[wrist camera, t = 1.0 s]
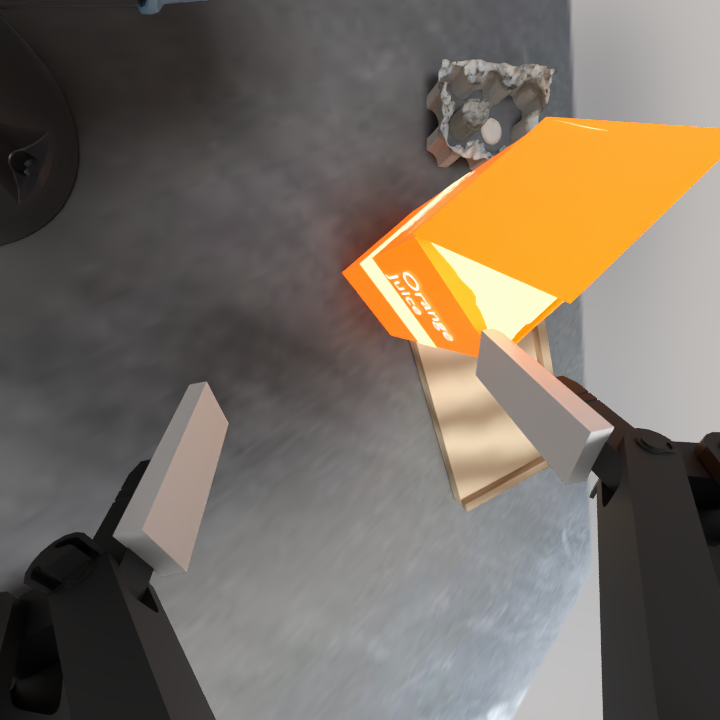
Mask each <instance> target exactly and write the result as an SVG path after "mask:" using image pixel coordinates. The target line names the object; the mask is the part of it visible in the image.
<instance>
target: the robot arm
mask: <svg viewBox="0 0 720 720" xmlns="http://www.w3.org/2000/svg"><path fill="white" fill-rule="evenodd" d="M195 1H207V0H0V9H11V8H74V7H137V9H138V11H139V12H140V13H141V14H155V13H157V12H159V11H160V10H161V8H162V6H163V5H164V4H171V3H182V2H195ZM77 167H78V140H77V133H76V128H75V124H74V121H73V117H72V114H71V111H70V109H69V106H68V103H67V101H66V99H65V97H64V95H63V93H62V91H61V89H60V87H59V85H58V83H57V82H56V80H55V78H54V77H53V75H52V74H51V72H50V71H49V69H48V68H47V66H46V65H45V64H44V62H43V61H42V60H41V59H40V57H39V56H38V55H37V54H36V52H35V51H34V50H33V49H32V48H31V47H30V46H29V44H28V43H27V42H26V41H25V40H24V39H23V38H22V37H21V36H20V35H19V34H18V33H17V32H16V31H15V30H14V29H13V28H12V26H11V25H10V24H9V23H8V22H7V21H6V20H5V19H4V18H3V17H2V16H1V15H0V245H3V244H6V243H9V242H13V241H15V240H18V239H21V238H23V237H25V236H27V235H29V234H31V233H33V232H34V231H36V230H38V229H39V228H41V227H42V226H43V225H45V224H46V223H47V222H48V221H49V220H51V219H52V218H53V217H54V216H55V215H56V213H57V212H58V211H59V210H60V209H61V207H62V206H63V204H64V203H65V201H66V200H67V198H68V196H69V194H70V192H71V189H72V187H73V184H74V181H75V178H76V173H77ZM476 376H477V377H478V379H479V380H480V381H481V382H482V384H483V385H484V386H485V387H486V388H487V390H488V391H489V392H490V393H491V395H492V396H493V397H494V398H495V399H496V401H497V402H498V403H499V404H500V406H501V407H502V408H503V409H504V411H505V412H506V413H507V414H508V415H509V417H510V418H511V419H512V420H513V422H514V423H515V424H516V425H517V426H518V428H519V429H520V430H521V431H522V433H523V434H524V435H525V436H526V437H527V439H528V440H529V441H530V442H531V444H532V445H533V446H534V447H535V448H536V450H537V451H538V452H539V453H540V455H541V456H542V457H543V458H544V459H545V461H546V462H547V463H548V464H549V466H550V467H551V468H552V469H553V470H554V472H555V473H556V474H557V475H558V477H559V478H560V479H561V480H562V482H563V483H564V484H565V485H569V484H574V483H578V482H582V481H586V479H587V477H588V476H589V474H590V472H591V470H592V471H593V472H594V473H595V474H596V475H597V476H598V477H599V479H598V481H597V483H596V484H595V486H594V488H593V490H592V491H591V494H590V498H594V496H595V495H596V493H597V518H598V550H599V551H598V552H599V587H600V622H601V656H602V693H603V720H720V432H712V433H710V434H707V435H706V436H705V437H704V438H703V439H702V440H701V442H700V443H690V442H673V441H671V440H670V439H668V438H667V437H665V436H663V435H661V434H659V433H657V432H654V431H651V430H647V429H640V428H636V429H635V428H633V427H632V426H631V425H630V424H628V423H627V422H626V421H625V420H623V419H622V418H621V417H620V416H618V415H617V414H616V413H614V412H613V411H612V410H611V409H610V408H608V407H607V406H606V405H605V404H603V403H602V402H601V401H600V400H597V398H596V397H595V396H593V395H592V394H591V393H588V391H587V390H586V389H585V388H583V387H582V386H581V385H580V384H578V383H577V382H575V381H573V380H571V379H569V378H566V377H564V376H559V377H554V376H553V375H552V374H551V373H550V372H549V371H547V370H546V369H545V368H544V367H543V366H541V365H540V364H539V363H538V362H537V361H536V360H534V359H533V358H532V357H531V356H530V355H529V354H527V353H526V352H525V351H524V350H523V349H521V348H520V347H519V346H518V345H517V344H515V343H514V342H513V341H512V340H511V339H510V338H508V337H507V336H506V335H505V334H504V333H503V332H501V331H499V330H496V329H494V328H491V329H485V330H482V331H481V338H480V346H479V353H478V360H477V368H476ZM228 424H229V423H228V421H227V420H226V418H225V416H224V414H223V412H222V410H221V408H220V406H219V404H218V402H217V400H216V398H215V397H214V395H213V393H212V391H211V389H210V387H209V385H208V383H207V381H206V382H201V383H195V384H190V385H189V386H188V388H187V390H186V392H185V394H184V396H183V398H182V400H181V402H180V404H179V406H178V408H177V410H176V412H175V414H174V416H173V418H172V420H171V422H170V424H169V426H168V428H167V430H166V432H165V434H164V436H163V438H162V440H161V441H160V443H159V445H158V447H157V449H156V451H155V453H154V455H153V457H152V459H151V460H146V461H141V462H140V463H139V464H138V465H137V466H136V468H135V469H134V470H133V471H132V472H131V473H130V474H129V475H128V477H127V479H126V481H125V482H124V484H123V486H122V488H121V489H122V490H121V491H119V493H118V495H117V497H116V499H115V502H114V503H113V504H112V506H111V508H110V509H109V511H108V513H107V515H106V517H105V518H104V520H103V522H102V524H101V526H100V527H99V529H98V531H97V533H96V535H95V536H94V538H93V540H92V539H91V538H90V537H88V536H87V535H86V534H85V533H80V532H75V533H71V534H68V535H65V536H63V537H61V538H60V539H58V540H56V541H54V542H53V543H52V544H50V545H49V546H48V547H47V548H45V549H44V550H43V551H42V552H41V553H40V554H39V555H38V556H37V557H36V558H35V560H34V561H33V562H32V563H31V565H30V566H29V568H28V570H27V572H26V573H25V578H24V583H25V584H27V585H28V586H30V587H32V588H34V590H32V591H30V592H28V593H26V594H24V595H22V596H20V597H17V596H15V595H13V594H11V593H8V592H1V593H0V720H216V719H215V717H214V715H213V713H212V711H211V709H210V706H209V704H208V702H207V700H206V698H205V696H204V694H203V692H202V689H201V687H200V685H199V683H198V681H197V679H196V677H195V675H194V672H193V670H192V668H191V666H190V664H189V662H188V660H187V658H186V656H185V653H184V651H183V649H182V647H181V645H180V643H179V641H178V639H177V636H176V634H175V632H174V630H173V628H172V626H171V624H170V622H169V619H168V617H167V615H166V613H165V611H164V609H163V607H162V605H161V602H160V600H159V598H158V596H157V594H156V592H155V590H154V588H153V586H152V585H151V584H150V583H149V581H150V578H151V575H152V572H153V570H154V571H155V572H157V573H158V574H159V575H160V576H161V577H166V576H171V575H175V574H180V573H184V572H187V570H188V566H189V562H190V559H191V555H192V552H193V548H194V545H195V541H196V538H197V534H198V531H199V527H200V523H201V520H202V516H203V513H204V509H205V506H206V502H207V499H208V495H209V492H210V488H211V484H212V481H213V477H214V474H215V470H216V467H217V463H218V460H219V456H220V453H221V449H222V445H223V442H224V438H225V435H226V431H227V428H228Z"/></svg>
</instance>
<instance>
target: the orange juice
mask: <svg viewBox="0 0 720 720" xmlns="http://www.w3.org/2000/svg"><path fill="white" fill-rule="evenodd" d="M719 159H720V128H704V127H690V126H675V125H661V124H646V123H631V122H616V121H601V120H600V121H599V120H586V119H571V118H556V117H546V118H545V119H544V120H542V121H541V122H540V123H539V124H538V125H537V126H536V127H534V128H533V129H532V130H531V131H530V132H529V133H528V134H526V135H525V136H524V137H522V138H521V139H519V140H518V141H516V142H515V143H513V144H512V145H510V146H509V147H507V148H506V149H504V150H503V151H502V152H500V153H499V154H497V155H496V156H494V157H493V158H491V159H490V160H488V161H487V162H485V163H484V164H482V165H481V166H479V167H478V168H476V169H475V170H473V171H472V172H471V173H470V172H469V173H468V174H466V175H465V176H463V177H462V178H461V179H459V180H458V181H456V182H455V183H453V184H452V185H450V186H449V187H448V188H446V189H445V190H444V191H442V192H441V193H439V194H438V195H437V196H435V197H434V198H432V199H431V200H429V201H428V202H426V203H425V204H423V205H422V206H420V207H419V208H417V209H416V210H414V211H413V212H412V213H410V214H409V215H408V216H407V217H406V218H405V219H403V220H402V221H401V222H400V223H399V224H398V225H397V226H395V227H394V228H393V229H392V230H391V231H390V232H388V233H387V234H386V235H385V236H384V237H383V238H381V239H380V240H379V241H378V242H377V243H376V244H374V245H373V246H372V247H371V248H370V249H369V250H368V251H366V252H365V253H364V254H363V255H362V256H361V257H359V258H358V259H357V260H356V261H355V262H354V263H352V264H351V265H350V266H349V267H348V268H347V269H346V270H344V271H343V272H342V273H343V275H344V276H345V277H346V279H347V280H348V281H349V282H350V284H351V285H352V286H353V287H354V289H355V290H356V291H357V293H358V294H359V295H360V296H361V298H362V299H363V300H364V302H365V303H366V304H367V305H368V307H369V308H370V309H371V311H372V312H373V313H374V314H375V316H376V317H377V318H378V320H379V321H380V322H381V323H382V325H383V326H384V327H385V328H386V330H387V331H388V332H389V334H390V335H392V336H396V337H399V338H403V339H407V340H411V341H415V342H419V343H420V344H424V345H428V346H432V347H439V348H443V349H447V350H451V351H455V352H458V353H462V354H466V355H470V356H474V357H478V353H479V346H480V338H481V331H482V330H485V329H491V328H494V329H496V330H499V331H501V332H503V333H504V334H505V335H506V336H507V337H508V338H510V339H511V340H512V341H513V342H514V343H515V344H517V343H518V342H519V341H520V340H521V339H522V338H523V337H524V336H525V335H526V334H527V333H528V332H529V331H531V330H532V329H533V328H534V327H535V326H536V325H537V324H539V323H540V322H541V321H542V320H543V319H544V318H546V317H547V316H548V315H549V314H550V313H551V312H552V311H554V310H555V309H556V308H557V307H558V306H559V305H561V304H562V303H563V302H564V301H566V302H568V303H570V304H571V303H572V302H573V301H574V300H575V299H576V298H577V297H578V296H579V295H580V294H581V293H582V292H583V291H584V290H585V289H586V288H587V287H588V286H589V285H590V284H591V283H592V282H593V281H594V280H595V279H596V278H597V277H598V276H600V274H602V273H603V272H604V271H605V270H606V269H607V268H608V267H609V266H610V265H611V264H612V263H613V262H614V261H615V260H616V259H617V258H618V257H619V256H620V255H621V254H622V253H623V252H624V251H625V250H626V249H627V248H628V247H629V246H630V245H632V244H633V243H634V242H635V241H636V240H637V239H638V238H639V237H640V236H641V235H642V234H643V233H644V232H645V231H646V230H647V229H648V228H649V227H650V226H651V225H652V224H653V223H654V222H655V221H656V220H657V219H658V218H659V217H660V216H662V215H663V214H664V213H665V212H666V211H667V210H668V209H669V208H670V207H671V206H672V205H673V204H674V203H675V202H676V201H677V200H678V199H679V198H680V197H681V196H682V195H683V194H684V193H685V192H686V191H687V190H688V189H689V188H690V187H692V186H693V184H694V183H696V182H697V181H698V180H699V179H700V178H701V177H702V176H703V175H704V174H705V173H706V172H707V171H708V170H709V169H710V168H711V167H712V166H713V165H714V164H715V163H716V162H717V161H718V160H719Z"/></svg>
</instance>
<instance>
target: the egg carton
mask: <svg viewBox="0 0 720 720" xmlns="http://www.w3.org/2000/svg"><path fill="white" fill-rule="evenodd" d="M441 61H442V66H441V69H440V70H439V81H438V82H437V83H436V85H435V86H434V88H433V89H432V90H431V92H430V93H429V94H428V95H427V108H428V109H430V110H431V111H433V112H434V113H435V115H436V116H437V119H438V123H439V125H438V127H437V129H436V130H435V131H434V132H433V133H432V134H431V135H430V136H429V137H428V138H427V147H426V148H427V151H429V152H431V153H432V154H433V155H434V156H435V157H436V159H437V163H438V166H439V167H448V166H449V165H451V164H452V163H453V162H454V161H456V160H457V159H458V158H459V157H460V156H461V155H462V157H464V158H466V159H467V161H468V163H469V168H470V170H475V169H476V168H478V167H479V166H481V165H482V164H484V163H485V162H487V161H488V160H490V159H491V158H493V157H494V156H496V155H497V154H499V153H500V152H502V151H503V150H504V149H506V148H507V147H505V145H503V146H502V147H501V148H500V149H499V150H497V151H496V152H495V153H493V154H492V155H491V152H486V151H485V144H484V143H482V144H479V140H471V141H469V142H468V143H467V144H466V146H465V147H461V145H460V144H457V145H456V146H454V147H451V146H449V144H448V143H447V137H448V129H449V131H450V134H451V136H452V137H453V139H454V140H456V141H458V142H463V141H465V140H466V139H468V138H469V137H470V136H471V135H473V134H474V133H475V132H476V131H477V130H478V129H480V128H481V135H482V138H483V140H484V141H485V142H486V143H487V144H489V145H494V144H496V143H498V141H499V140H500V138H501V130H502V129H501V127H500V124H499V122H498V121H497V120H495V119H493V118H489V119H488V117H489V111H490V108H491V106H492V105H496V104H498V103H499V102H501V101H502V100H503V99H504V98H505V97H506V96H507V95H510V96H512V98H513V102H514V104H515V106H516V107H517V108H518V109H519V110H521V111H522V115H521V121H519V122H518V123H517V124H515V125H514V126H513V128H512V130H511V141H512V144H513V143H515V142H516V141H518V140H519V139H521V138H522V137H524V136H525V135H526V134H528V133H529V132H530V131H531V130H532V129H533V128H534V127H536V126H537V125H538V116H539V114H540V113H541V112H542V111H543V110H544V108H545V107H546V105H547V103H548V99H549V95H550V85H551V81H552V75H556V72H557V71H555V70H554V69H548V66H539V65H537V64H523V65H521V66H519V67H514V66H511V65H509V64H508V63H501V64H495V63H489V62H485V61H483V60H481V59H479V60H466V61H462V62H460V61H456V62H452V63H451V62H450V61H448V60H446V59H443V60H441ZM447 84H450V89H451V92H452V94H453V95H454V97H455V98H457V99H459V100H465V99H467V98H468V97H469V96H470V95H471V94H472V93H473V92H474V91H475V90H482V94H483V97H484V98H481V99H469V100H468V101H467V102H466V103H465V104H463V105H462V107H461V108H460V109H459V110H458V111H457V112H456V113H455V114H454V115H453V116H452V114H453V113H454V110H455V108H454V107H455V103H454V101H450V99H451V96H450V94H449V93H448V92H447V91H446V86H447ZM451 116H452V118H451V119H450V117H451ZM449 121H450V123H449V125H448V122H449Z"/></svg>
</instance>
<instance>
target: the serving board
mask: <svg viewBox="0 0 720 720" xmlns="http://www.w3.org/2000/svg"><path fill="white" fill-rule="evenodd" d="M409 341H410V344H411V348H412V351H413V355H414V358H415V362H416V365H417V369H418V372H419V376H420V379H421V383H422V386H423V390H424V393H425V397H426V400H427V404H428V407H429V411H430V414H431V417H432V421H433V424H434V428H435V431H436V435H437V438H438V442H439V445H440V449H441V452H442V456H443V459H444V463H445V466H446V470H447V473H448V477H449V480H450V484H451V487H452V491H453V494H454V498H455V500H456V501H457V502H458V503H459V504H460V505H461V506H462V507H463V508H464V509H465V510H466V511H467V512H468V511H470V510H471V509H473V508H475V507H477V506H479V505H480V504H482V503H484V502H486V501H488V500H489V499H491V498H493V497H495V496H497V495H498V494H500V493H502V492H504V491H506V490H507V489H509V488H511V487H513V486H515V485H516V484H518V483H520V482H522V481H524V480H526V479H527V478H529V477H531V476H533V475H535V474H536V473H538V472H540V471H542V470H544V469H545V468H547V467H549V464H548V463H547V462H546V461H545V459H544V458H543V457H542V456H541V455H540V453H539V452H538V451H537V450H536V448H535V447H534V446H533V445H532V444H531V442H530V441H529V440H528V439H527V437H526V436H525V435H524V434H523V433H522V431H521V430H520V429H519V428H518V426H517V425H516V424H515V423H514V422H513V420H512V419H511V418H510V417H509V415H508V414H507V413H506V412H505V411H504V409H503V408H502V407H501V406H500V404H499V403H498V402H497V401H496V399H495V398H494V397H493V396H492V395H491V393H490V392H489V391H488V390H487V388H486V387H485V386H484V385H483V384H482V382H481V381H480V380H479V379H478V377H477V376H476V368H477V360H478V357H474V356H470V355H466V354H462V353H458V352H455V351H451V350H447V349H443V348H439V347H432V346H428V345H424V344H420V343H419V342H415V341H411V340H409ZM517 345H518V346H519V347H520V348H521V349H523V350H524V351H525V352H526V353H527V354H529V355H530V356H531V357H532V358H533V359H534V360H536V361H537V362H538V363H539V364H540V365H541V366H543V367H544V368H545V369H546V370H547V371H549V372H550V373H551V374H552V375H553V369H552V362H551V356H550V350H549V343H548V337H547V331H546V324H545V318H544V319H543V320H542V321H541V322H540V323H539V324H537V325H536V326H535V327H534V328H533V329H532V330H531V331H529V332H528V333H527V334H526V335H525V336H524V337H523V338H522V339H521V340H520V341H519V342H518V343H517ZM553 376H554V375H553Z"/></svg>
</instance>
